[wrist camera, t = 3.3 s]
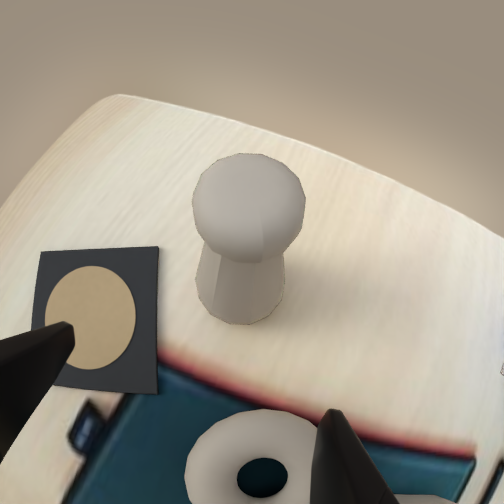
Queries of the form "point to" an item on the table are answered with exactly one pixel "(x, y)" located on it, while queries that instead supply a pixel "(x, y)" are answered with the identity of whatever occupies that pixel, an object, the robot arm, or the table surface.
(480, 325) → the table surface
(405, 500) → the white paper bag
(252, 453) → the donut
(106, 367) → the coaster
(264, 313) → the salt shaker
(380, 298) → the table surface
